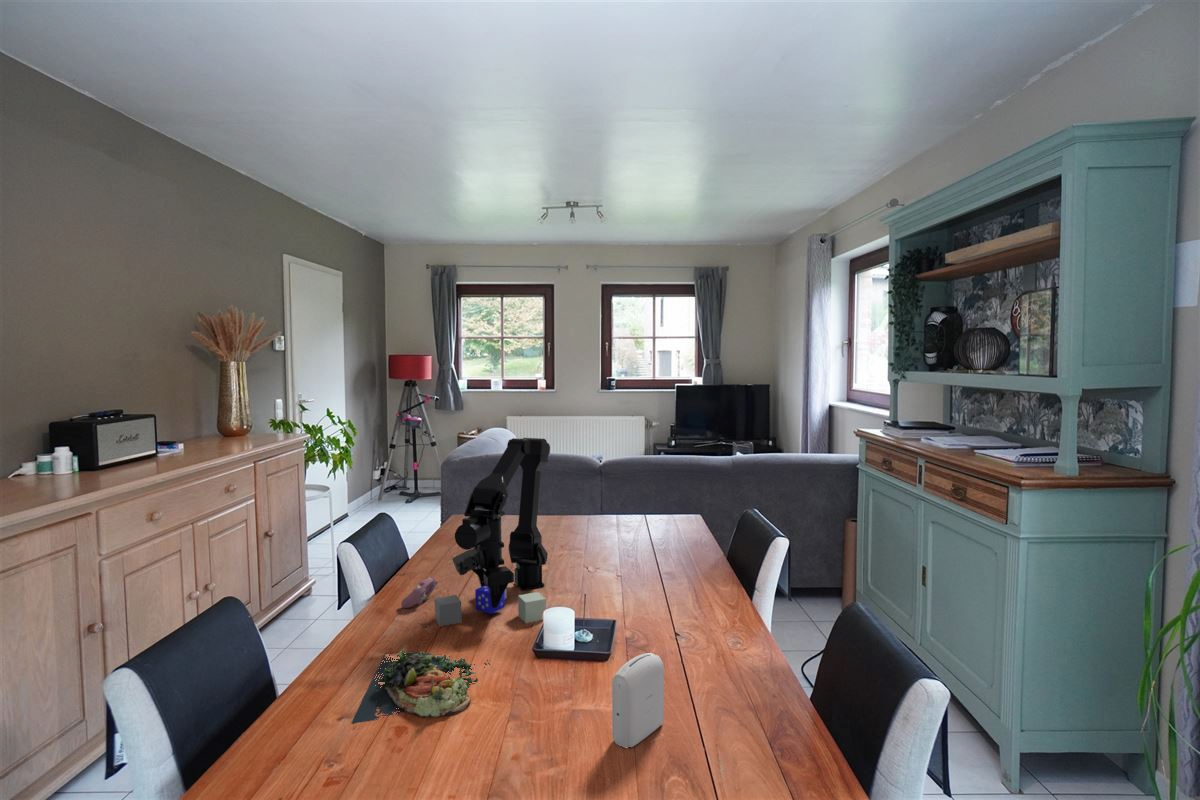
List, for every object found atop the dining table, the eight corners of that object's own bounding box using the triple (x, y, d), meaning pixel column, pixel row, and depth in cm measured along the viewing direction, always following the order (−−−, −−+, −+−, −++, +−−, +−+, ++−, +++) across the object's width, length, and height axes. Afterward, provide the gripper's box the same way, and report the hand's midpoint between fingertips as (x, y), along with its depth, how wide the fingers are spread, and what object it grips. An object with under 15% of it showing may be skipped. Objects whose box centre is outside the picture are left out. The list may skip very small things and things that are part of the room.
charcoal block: (456, 615, 153) (456, 594, 153) (461, 623, 148) (461, 601, 148) (435, 619, 151) (434, 598, 150) (439, 627, 146) (439, 605, 146)
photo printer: (629, 753, 99) (629, 674, 98) (608, 742, 102) (608, 666, 101) (667, 724, 107) (668, 651, 106) (646, 714, 110) (646, 644, 109)
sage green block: (538, 612, 155) (538, 591, 154) (545, 619, 150) (545, 598, 150) (518, 616, 152) (518, 595, 152) (525, 623, 148) (525, 602, 148)
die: (489, 603, 157) (488, 583, 157) (505, 607, 155) (504, 586, 154) (475, 610, 153) (474, 589, 153) (491, 614, 150) (491, 593, 150)
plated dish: (505, 738, 104) (503, 694, 104) (322, 755, 100) (320, 709, 100) (506, 645, 139) (506, 612, 138) (371, 656, 135) (370, 622, 135)
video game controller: (414, 616, 156) (425, 591, 155) (398, 606, 157) (409, 582, 156) (432, 601, 166) (443, 578, 165) (417, 592, 167) (428, 569, 166)
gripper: (446, 532, 158) (447, 595, 159) (465, 553, 141) (467, 622, 142) (490, 527, 163) (491, 587, 164) (514, 546, 146) (515, 613, 147)
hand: (490, 602), depth 154 cm, fingers closed on die, 7 cm apart
